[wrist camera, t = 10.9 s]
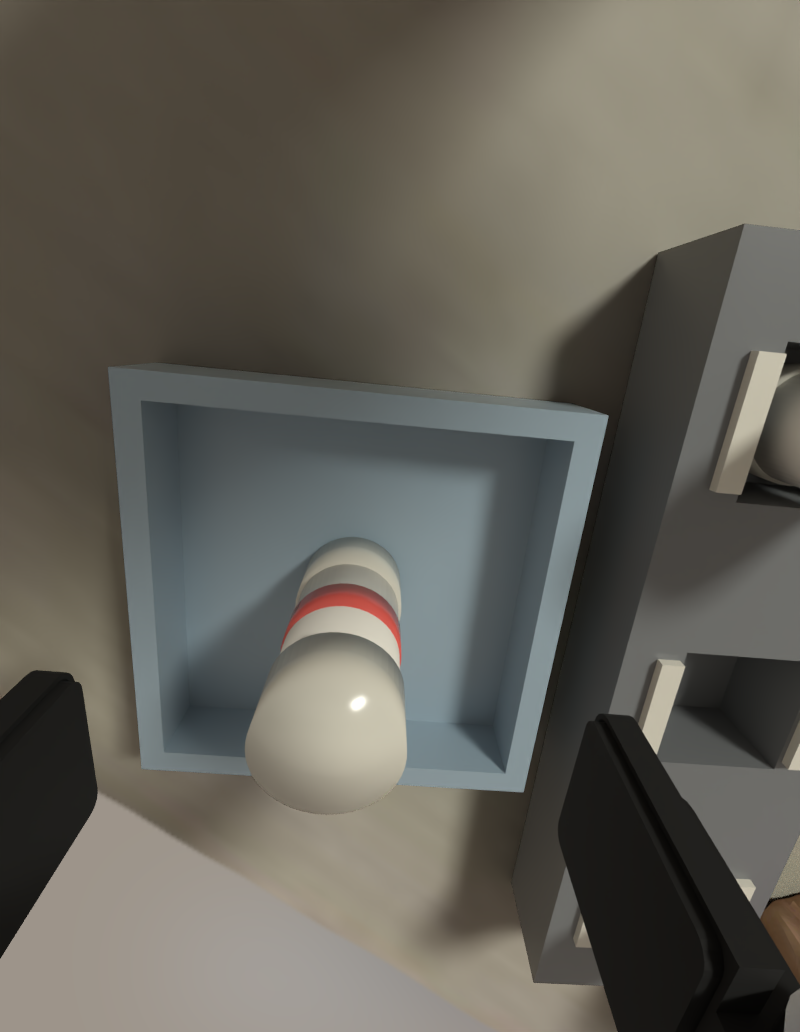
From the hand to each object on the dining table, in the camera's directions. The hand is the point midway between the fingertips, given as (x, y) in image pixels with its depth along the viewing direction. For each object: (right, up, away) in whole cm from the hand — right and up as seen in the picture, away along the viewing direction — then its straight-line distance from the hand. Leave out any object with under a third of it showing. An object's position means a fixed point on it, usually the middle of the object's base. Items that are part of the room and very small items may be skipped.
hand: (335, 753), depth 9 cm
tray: (0, +2, +9) cm, 10 cm away
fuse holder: (+12, -1, +11) cm, 16 cm away
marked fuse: (0, +2, +9) cm, 9 cm away
